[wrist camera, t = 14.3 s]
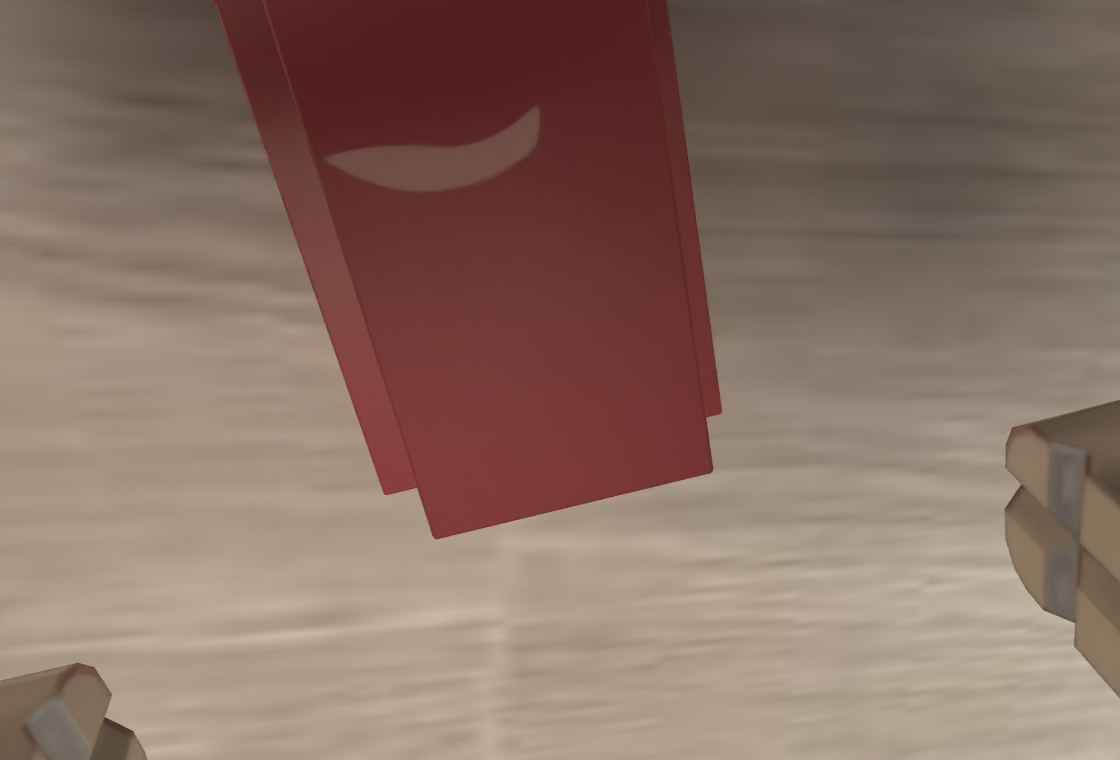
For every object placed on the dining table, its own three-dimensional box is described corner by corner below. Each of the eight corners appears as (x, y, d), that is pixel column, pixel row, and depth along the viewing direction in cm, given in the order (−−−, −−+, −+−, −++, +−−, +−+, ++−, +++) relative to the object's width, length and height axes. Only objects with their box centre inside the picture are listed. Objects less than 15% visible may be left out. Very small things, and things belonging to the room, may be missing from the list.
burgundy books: (186, -191, 19) (143, -200, 16) (590, -280, 19) (626, -307, 16) (386, 418, 26) (384, 496, 23) (684, 347, 26) (722, 414, 23)
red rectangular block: (212, -230, 16) (183, -243, 14) (576, -308, 16) (601, -333, 14) (430, 478, 23) (433, 541, 21) (686, 417, 23) (714, 473, 21)
